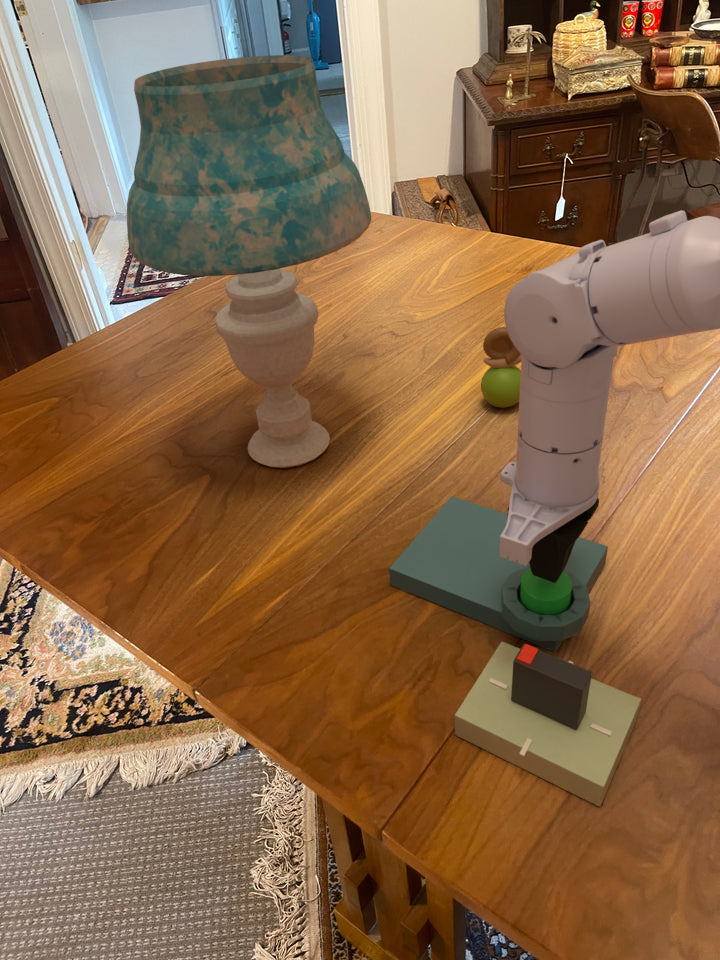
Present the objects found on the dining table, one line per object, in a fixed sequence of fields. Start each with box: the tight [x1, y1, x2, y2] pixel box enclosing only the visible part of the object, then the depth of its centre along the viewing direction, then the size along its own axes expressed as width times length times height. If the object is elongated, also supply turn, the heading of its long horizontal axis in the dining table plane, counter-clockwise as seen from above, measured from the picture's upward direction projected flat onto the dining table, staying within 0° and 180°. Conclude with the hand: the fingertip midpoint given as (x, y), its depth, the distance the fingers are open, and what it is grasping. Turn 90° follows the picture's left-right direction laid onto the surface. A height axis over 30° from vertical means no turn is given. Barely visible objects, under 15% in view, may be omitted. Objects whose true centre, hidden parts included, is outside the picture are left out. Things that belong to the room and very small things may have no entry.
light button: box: [520, 569, 572, 615], centre depth 60 cm, size 4×4×2 cm
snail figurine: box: [480, 326, 522, 409], centre depth 88 cm, size 5×6×12 cm
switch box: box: [388, 495, 609, 653], centre depth 66 cm, size 18×13×4 cm
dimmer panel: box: [454, 641, 642, 807], centre depth 54 cm, size 11×9×3 cm
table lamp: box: [126, 54, 372, 469], centre depth 76 cm, size 24×24×40 cm
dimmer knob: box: [511, 643, 593, 730], centre depth 52 cm, size 5×2×5 cm, turn 56°
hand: (547, 573), depth 59 cm, fingers closed
